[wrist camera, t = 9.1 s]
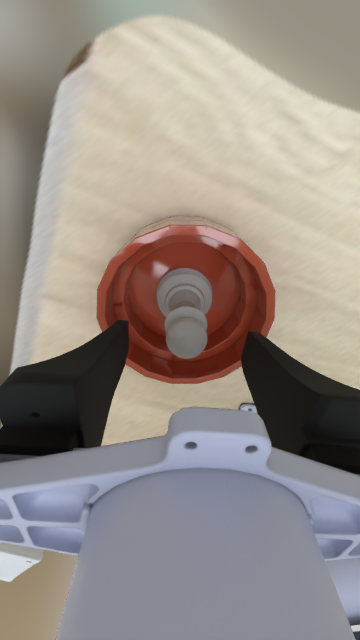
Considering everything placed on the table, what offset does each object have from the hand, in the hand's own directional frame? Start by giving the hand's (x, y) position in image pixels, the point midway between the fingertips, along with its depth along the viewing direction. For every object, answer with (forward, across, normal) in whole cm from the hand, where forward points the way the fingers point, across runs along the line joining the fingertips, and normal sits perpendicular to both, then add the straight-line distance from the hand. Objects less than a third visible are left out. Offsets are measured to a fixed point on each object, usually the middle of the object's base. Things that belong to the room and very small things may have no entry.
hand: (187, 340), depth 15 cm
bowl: (+8, 0, 0) cm, 8 cm away
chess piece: (+7, 0, 0) cm, 7 cm away
